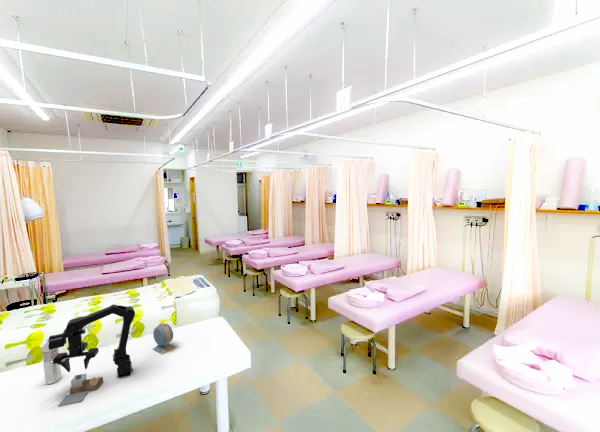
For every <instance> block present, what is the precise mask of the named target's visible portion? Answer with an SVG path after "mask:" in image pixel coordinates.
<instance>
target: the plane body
mask: <svg viewBox="0 0 600 432" xmlns="http://www.w3.org/2000/svg"><path fill="white" fill-rule="evenodd" d="M97 378H98V380H99V382H98V383H97V385H95V386H90V383H89V382H90V381H91V379H92V378H90V379H89V378H88V379H87V381H86V382H85V383H84V385H83V386H81V387H76V388H71V387H70V389H69V394H74V393H79V392H84V391H88V392H90V391H96V390H99V389H100V388H101V386H102V384H103V383H104V378H103V376H100V377H97Z"/></svg>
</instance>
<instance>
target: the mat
mask: <svg viewBox="0 0 600 432" xmlns="http://www.w3.org/2000/svg"><path fill="white" fill-rule="evenodd" d="M88 393H89V391H84V392H79V393H74V394H70V393H69V394H66V395H65V396H64V397H63V398H62V400H61V401H60V403H59V404H58V405H57V407H63V406H69V405H73V404H77V403H82V402H83V401H84V400H85V398H86V396H87V395H88Z"/></svg>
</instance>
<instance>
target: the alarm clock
mask: <svg viewBox="0 0 600 432" xmlns="http://www.w3.org/2000/svg"><path fill="white" fill-rule="evenodd" d="M152 335H153V339H154V342H155V343H156V346H155V347H153V348H152V350H153V351H154V352H157V353H158V354H160V355H164V354H167V353H168V352H170V351H172V350H174V349H177V347H176V346H175V345H173V344H171V342H172V341H173V339H174V332H173V329H172V327H171V326H170V324H169V323H164V322H161V323H159V324H157V326H155V327H154V330H153V334H152Z"/></svg>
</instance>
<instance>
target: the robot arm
mask: <svg viewBox="0 0 600 432" xmlns="http://www.w3.org/2000/svg"><path fill="white" fill-rule="evenodd" d="M110 315H117V316H119V317H121V318H122V321H123V322H122V326H121V332H120V337H119V341H118V342H119V343H118V346H117V348H116V349H114V350H113V355H112V360H113V363H114V364H115V366H117V368H116V374H117V378H118V379H120V378H125V377H126V378H127V377H130V376H131V375H132V372H133V371H134V368H133V364H132V363H133V362H132V360H131V355H129V354H127V345H128V344H127V343H128V340H129V334H130V330H131V326H132V325H131V324H132V322H133V321H134V318H135V315H136V312H135V309H134V307H133V306H125V305H118V304H111V305H110V306H107V307H105V308H102V309H100V310H97V311H95V312H93V313H89V314H88V315H83V316H78V317H75V318H71V319H70V320H69V321H68V322H67V325H66V328H65V329H64V330H63V331H62V333H59V334H53V335H49V337H48V339H49V345H48V347H49V350H52V349H56V348H58V349H59V348H62V347H65V345H66V344H68V345H67V348H66V349H67V351H68V352H65V351H64V352H59V354H58V355H57V356H56V357H55V358H54V359H53V364H57V363H58V365H60V367H62V368H63V369H65V371H67V372H68V373H70V372H71V364H70V359H73V358H80V357H84V359H83V364H84V370H87V369H88V367H89V363H90V360H91V359H94V358H95V357H96V356H97V355H98V353H99V350H100V349H99V348H98V347H92V348H89V349H88V343H89V342H88V341H85V342H84V341H83V339H82V335H84V334H86V329H84V328H85V327H86V326H87V325H89V324H91V323H94V322H96V321H98V320H101V319H103V318H106V317H108V316H110ZM86 349H88V350H87V351H85V350H86Z"/></svg>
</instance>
